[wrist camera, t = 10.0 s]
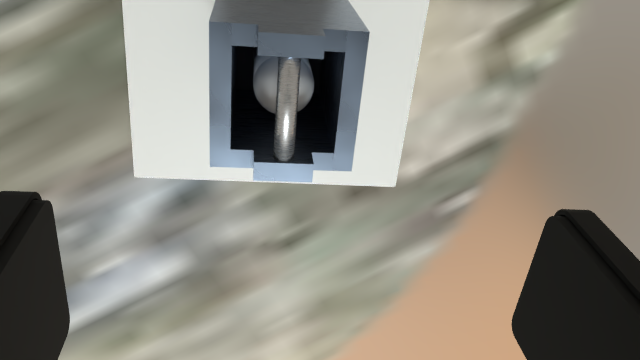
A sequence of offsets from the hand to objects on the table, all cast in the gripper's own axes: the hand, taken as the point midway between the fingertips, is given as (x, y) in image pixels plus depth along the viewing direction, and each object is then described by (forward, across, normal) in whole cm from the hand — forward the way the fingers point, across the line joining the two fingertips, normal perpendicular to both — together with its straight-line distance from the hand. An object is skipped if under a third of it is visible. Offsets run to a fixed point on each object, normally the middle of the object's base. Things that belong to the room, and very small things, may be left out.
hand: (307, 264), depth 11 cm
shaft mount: (+19, 0, 0) cm, 19 cm away
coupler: (+15, 0, 0) cm, 15 cm away
